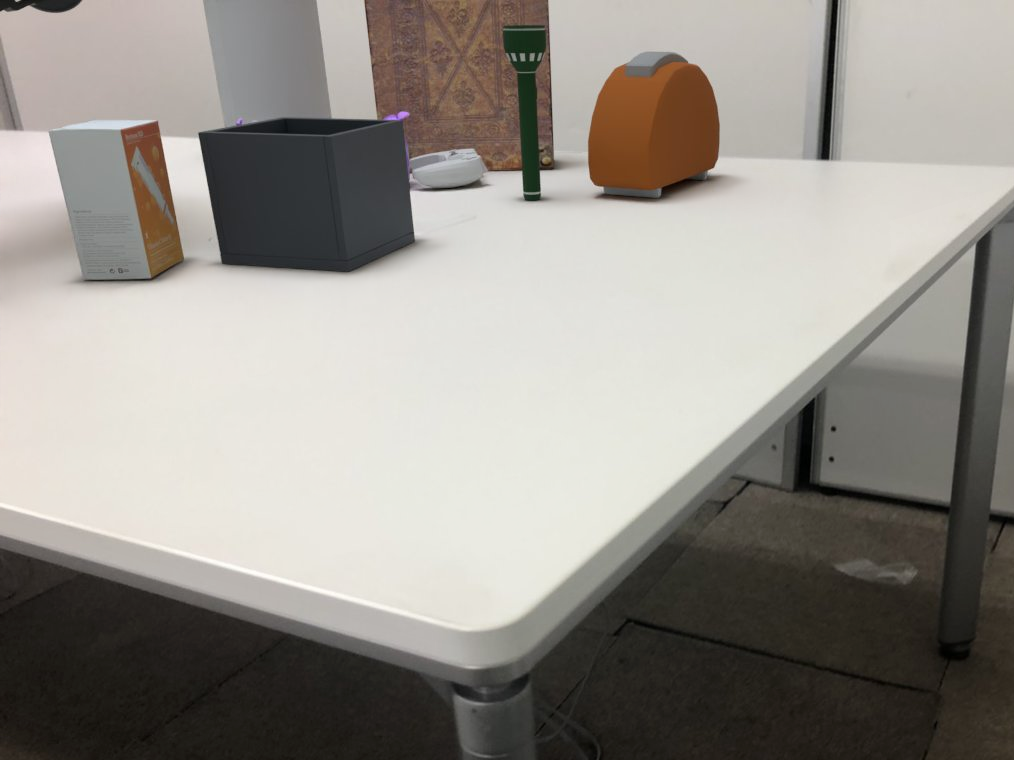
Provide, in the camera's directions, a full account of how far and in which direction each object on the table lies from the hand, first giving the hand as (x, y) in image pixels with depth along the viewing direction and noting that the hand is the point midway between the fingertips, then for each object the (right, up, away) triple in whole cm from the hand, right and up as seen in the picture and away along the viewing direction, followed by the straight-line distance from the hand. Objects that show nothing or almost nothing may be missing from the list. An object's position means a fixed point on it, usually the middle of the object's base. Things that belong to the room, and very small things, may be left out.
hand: (22, 6), depth 87 cm
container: (-5, +11, +77) cm, 78 cm away
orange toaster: (+55, -1, +49) cm, 74 cm away
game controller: (+27, 0, +53) cm, 60 cm away
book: (+27, +7, +66) cm, 72 cm away
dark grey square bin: (+21, -18, +14) cm, 31 cm away
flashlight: (+40, -5, +41) cm, 57 cm away
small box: (+6, -21, +8) cm, 23 cm away
